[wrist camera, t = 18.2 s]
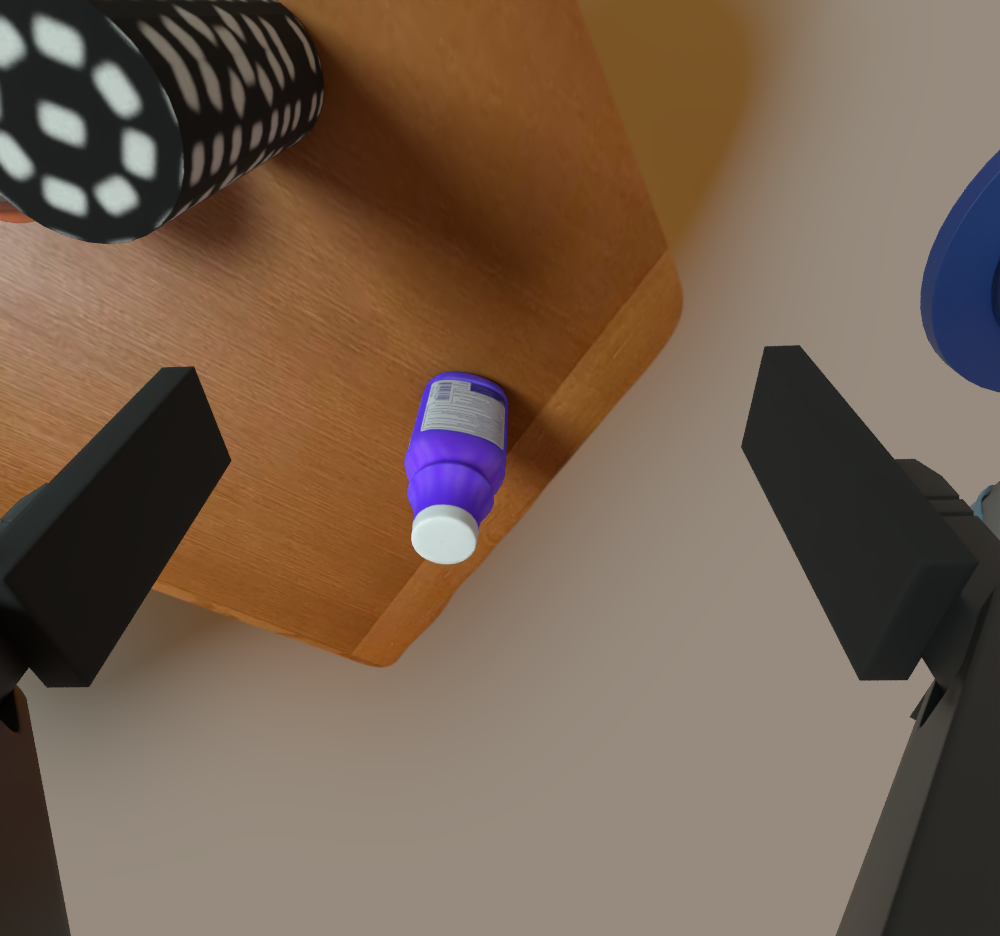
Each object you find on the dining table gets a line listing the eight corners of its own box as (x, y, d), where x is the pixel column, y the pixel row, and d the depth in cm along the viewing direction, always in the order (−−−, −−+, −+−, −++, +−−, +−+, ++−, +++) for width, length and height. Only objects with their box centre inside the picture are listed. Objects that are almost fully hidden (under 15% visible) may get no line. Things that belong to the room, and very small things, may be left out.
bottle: (417, 416, 52) (380, 564, 38) (428, 358, 49) (392, 497, 35) (499, 434, 53) (492, 584, 39) (515, 378, 50) (514, 521, 36)
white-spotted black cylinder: (336, 27, 36) (193, 43, 20) (310, 170, 41) (176, 275, 25) (191, -41, 34) (-94, -82, 18) (180, 117, 39) (-52, 193, 23)
